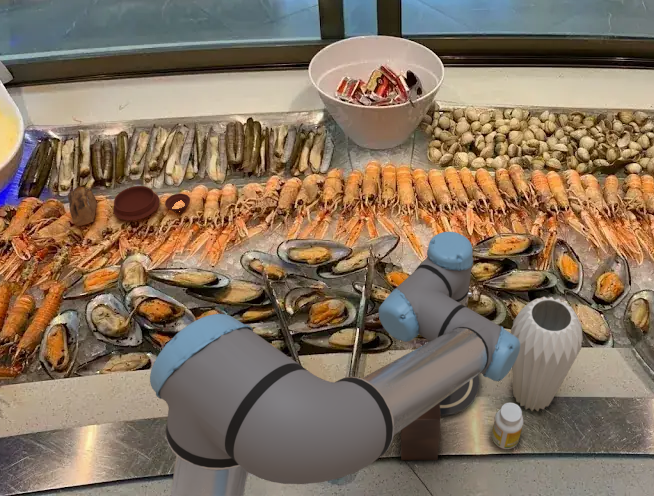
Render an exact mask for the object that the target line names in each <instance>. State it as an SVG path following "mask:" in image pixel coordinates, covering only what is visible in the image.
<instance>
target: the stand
mask: <svg viewBox="0 0 654 496" xmlns="http://www.w3.org/2000/svg"><path fill="white" fill-rule="evenodd" d="M441 417H442V416H440V402H439V403H438V404H437V405H435V406H434V407H433V408H431V409H430V410H428V411H427V412H426V413H424V414H423V415H421V416H420V417H419V418H417V419H416V420H415V421H413V422H412V423H410V424H409V425H408V426H406V427H405V428H403V429H402V430H401V431H400V460H401V461H433V460H434V461H437V460H438V459H439V448H440V433H441V421H442V420H441Z"/></svg>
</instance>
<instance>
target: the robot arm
mask: <svg viewBox="0 0 654 496" xmlns="http://www.w3.org/2000/svg"><path fill="white" fill-rule="evenodd" d="M473 256H474V255H473V245H472V243H471V241H470V240H469V238H467V237H466V236H465V235H463V234H461V233H459V232H455V231H443V232H439V233H437V234H435V235H434V236H433V237H431V239H430V241H429V243H428V247H427V250H426V258H425V259H424V260H423V261H422V262H421V263H420V264H419V265H418V266H417V267H416V268H415V270H414V271H413V272H412V273H411V274H410V275H409V276H408V277H407V278H405V279H404V280H403V281H402V282H401V283H400V284H399V285H398V286H396V287H395V288H394V289H392V291H391V292H390V293H389V294H388V296H387V297H386V298H385V299H384V300H383V302H382V303H381V304H380V305H379V307H378V319H379V322H380V324H381V325H382V327H383V329H384V330H385V331H386V332H387V333H388V334H389V335H390V336H391V337H393V338H394V339H395V340H398V341H402V342H405V343H407V342H411V341H412V340H414V339H415V338H417V337H418V336H421V337H423V338H424V339H426V340H427V341H428V342H427V343H424V344H423V345H421V346H419V347H417V348H416V349H414V350H412V351H410V352H407V353H406V354H404V355H402V356H401V357H399V358H397V359H395V360H393V361H391V362H389V363H387V364H385V365H384V366H382V367H380V368H378V369H376V370H374V371H373V372H370V373H369V374H367V375H365V376H363V377H358V376H346V377H342V378H341V379H338V380H337V381H335V382H334V381H329V380H326V379H323V378H320V377H319V376H317V375H316V374H314V373H312V372H311V371H309V370H307V369H306V368H305V367H303V365H301V364H299V363H298V362H297V361H295V360H293V358H291V357H289V356H288V355H286V354H285V353H284V352H283V351H281V350H280V349H278V347H276V346H274V345H273V344H272V343H270V342H269V341H268V340H266V339H264V338H263V337H261V336H260V335H259V334H257V333H256V332H255V331H254V330H253V329H254V328H253V327H252V326H251V325H249V324H246V323H243V322H241V321H240V320H238V319H236V318H235V317H233V316H231V315H229V314H225V313H213V314H209V315H205V316H202V317H200V318H198V319H196V320H194V321H192V322H191V323H189V324H188V325H186V326H184V327H183V328H182V329H181V330H179V331H178V332H177V333H176V334H175V335H174V336H173V337H172V338H171V339H170V340H169V341H167V343H166V344H165V346H163V348H162V349H161V350H160V352H159V353H158V354H157V357H156V358H155V360H154V362H153V365H152V366H151V370H150V375H149V383H150V387H151V389H152V391H154V393H155V396H156V397H157V398H159V400H163V401H164V402H165V403H166V404H167V407H168V409H167V411H168V412H167V418H166V427H165V439H166V442H167V445H168V447H169V448H170V450H171V451H172V453H173V454H174V455H175V462H174V468H173V476H172V482H171V488H170V489H171V490H170V496H245V491H246V485H247V481H248V476H249V474H250V475H252V476H255V477H256V478H259V479H261V480H264V481H268V482H272V483H276V484H281V485H282V484H283V485H309V484H319V483H320V484H321V483H324V482H325V483H326V482H329V481H333V480H338V479H341V478H343V477H346V476H349V475H352V474H356V473H357V472H359V471H360V470H363V469H366V468H368V467H369V466H370V465H371V464H373V463H374V462H376V461H377V460H378V459H380V458H381V457H382V456H383V455H384V454H386V453H387V452H388V450H389V449H390V448H391V445H392V443H393V440H394V437H395V435H397V434H398V433H399V432H401V430H402V429H403V428H405V427H406V426H408V425H409V424H410V423H412V422H413V421H415V420H416V419H417V418H419V417H420V416H421V415H423V414H424V413H426V412H427V411H428V410H430V409H431V408H433V407H434V406H435V405H437V404H438V403H439V402H441V401H442V400H444V399H445V398H446V397H448V396H449V395H451V394H452V393H453V392H455V391H456V390H457V389H459V388H460V387H462V386H463V385H464V384H466V383H467V382H469V381H470V380H471V379H473V378H474V377H475V376H477V375H478V376H479V375H480V374H481V375H482V376H483V377H484V378H488V379H490V380H492V381H493V382H500V381H502V380H503V379H504V378H506V376H507V375H508V374H509V372H510V371H512V366H513V365H514V363H515V361H516V359H517V357H518V354H519V351H520V341H519V339H518V338H517V337H516V336H514V335H513V334H511V331H508V330H507V329H505V328H504V327H503V326H502V325H499V324H497V323H496V322H493V321H492V320H490V319H488V318H486V317H485V316H483V315H481V314H479V313H478V312H476V311H474V310H472V309H471V308H469V307H468V305H469V298H472V297H473V292H472V291H470V286H471V285H470V283H471V276H472V267H473V264H474V257H473Z"/></svg>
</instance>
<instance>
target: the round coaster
mask: <svg viewBox="0 0 654 496" xmlns="http://www.w3.org/2000/svg"><path fill="white" fill-rule="evenodd" d="M479 389H480V377H479V374H478V375H477V376H475V377H474V378H473V379H471V380H470V381H469V382H467V383H466V384H464V385H463V386H462V387H460V388H459V389H457V390H456V391H455V392H453V393H452V394H451V395H449V396H448V397H446V398H445V399H444V400H442V401H441V402H440V417H449V416H454V415H456V414H457V415H458V414H459V413H462V412H464V411H465V410H466V409H468V408H469V407H470V406H472V404H473V403H474V401H475V400H476V398H477V395H478V394H479V393H478V392H479Z"/></svg>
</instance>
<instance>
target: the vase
mask: <svg viewBox="0 0 654 496" xmlns="http://www.w3.org/2000/svg"><path fill="white" fill-rule="evenodd" d="M578 316H579V315H577V313H576V311H575V310H574V309H573V307H572V306H570V305H569V304H568V302H567V301H562V300H561V298H556V299H554V297H553V296H549V297H546V296H542V297H540V298H535V299H533V300H531V301H530V302H527V303H526V305H525V306H524V307H522V308H521V309H520V310H519V312H518V314H517V315H516V317H515V318H514V319H513V321H512V327H511V329H510V333H511V334H513V335H514V336H516V337H517V338H518V339H519V341H520V351H519V354H518V357H517V359H516V361H515V363H514V365H513V366H512V368H511V375H512V377H511V378H512V392H513V393H512V394H513V397H514V398H515V402H516V403H520V404H519V407H524V409H525V410H530V411H531V412H533V411H534V410H535V411H537V412H539V410H540V409H541V410H543V411H544V410H545V408H546V407H549V406H550V404H551V403H552V401H553V400H554V397H555V396H556V394H557V393H558V391H559V389H560V387H561V386H562V384H563V382H564V380H565V378H566V377H567V375H568V374H569V371H570V369H571V368H572V366H573V364H574V362H575V361H576V359H577V357H578V355H579V353H580V352H581V350H582V342H583V340H584V339H583V327H582V324H581V322H580V320H579V317H578Z"/></svg>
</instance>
